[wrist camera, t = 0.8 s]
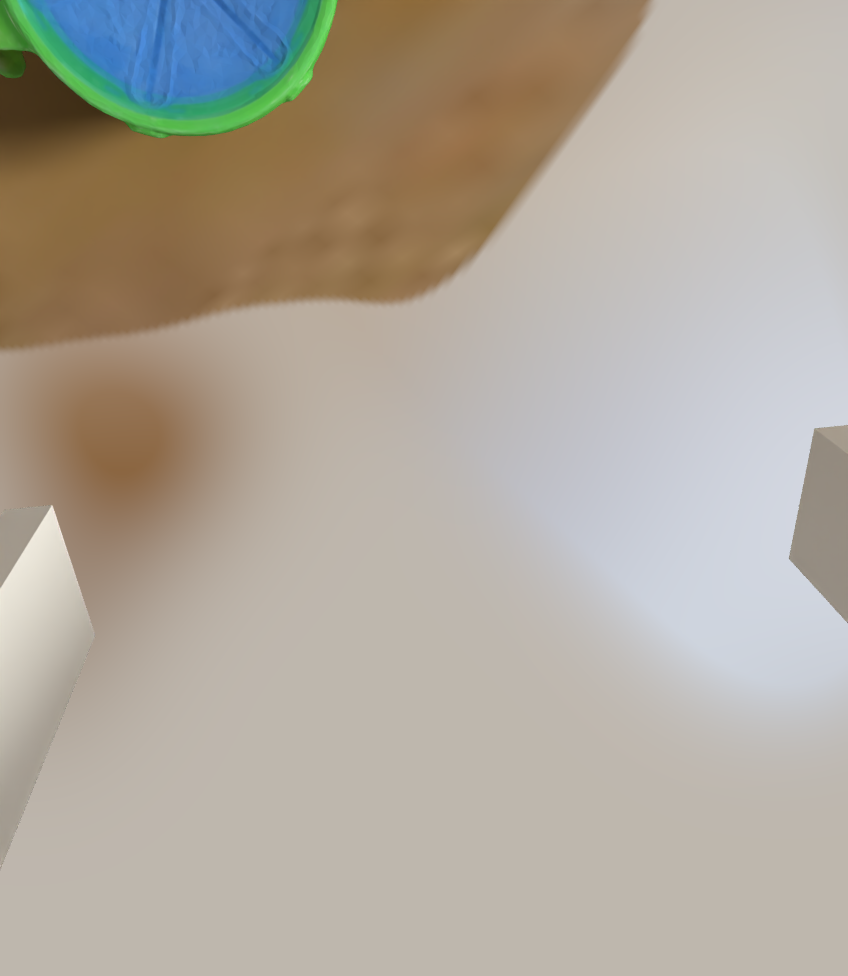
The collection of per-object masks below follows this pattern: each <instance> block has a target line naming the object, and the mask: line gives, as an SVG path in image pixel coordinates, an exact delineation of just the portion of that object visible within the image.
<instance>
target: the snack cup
mask: <svg viewBox="0 0 848 976" xmlns="http://www.w3.org/2000/svg"><path fill="white" fill-rule="evenodd" d="M336 5H337V0H0V74H1V75H3V76H5V77H6V78H18V77H21V76H22V75H23V73H24V70H25V68H26V64H25V60H24V57H23V54H22V51H29V52H32V53H35V54H37V55H38V56H39V57H40V58H41V60H42V61H43V62H44V63H45V64H46V65H47V66H48V68H49V69H50V70H51V71H52V72H53V73H54V74H55V75H56V76H57V77H58V78H59V79H60V80H61V81H62V82H63V83H65V84H66V85H67V86H68V87H69V88H70V89H71V90H73V91H74V92H75V93H76V94H77V95H79V96H80V97H81V98H82V99H84V100H85V101H86V102H88V103H89V104H90V105H92V106H93V107H95V108H97V109H99V110H101V111H102V112H104V113H106V114H108V115H110V116H112V117H115V118H117V119H119V120H121V121H124V122H125V123H126V124H127V125H128V126H129V128H130V129H131V130H132V131H135V132H138V133H141V134H145V135H148V136H152V137H156V138H165V137H168V136H171V135H178V136H207V135H215V134H220V133H226V132H230V131H233V130H236V129H239V128H241V127H244V126H247V125H249V124H251V123H253V122H255V121H257V120H259V119H261V118H262V117H264V116H265V115H267V114H268V113H270V112H271V111H273V110H274V109H275V108H277V107H278V106H279V105H281V104H282V103H284V102H288V101H292V100H294V99H295V98H296V97H297V96H298V95H299V93H300V92H301V91H302V90H303V89H304V88H305V86H306V85H307V84H308V83H309V82H310V81H311V79H312V76H313V67H314V64H315V63H316V61H317V59H318V57H319V55H320V53H321V52H322V49H323V47H324V44H325V42H326V39H327V36H328V34H329V31H330V28H331V25H332V21H333V17H334V14H335V10H336Z"/></svg>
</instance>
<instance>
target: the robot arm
mask: <svg viewBox="0 0 848 976" xmlns="http://www.w3.org/2000/svg"><path fill="white" fill-rule="evenodd" d="M789 559H790V560H791V561H792V562H793V564H794V565H795V566H796V567H797V568H798V569H799V570H800V571H801V572H802V574H803V575H804V576H805V577H806V578H807V579H808V580H809V581H810V582H811V583H812V584H813V586H814V587H815V588H816V589H817V590H818V591H819V592H820V593H821V594H822V595H823V596H824V598H826V600H827V601H828V602H829V603H830V604H831V605H832V606H833V607H834V608H835V610H836V611H837V612H838V613H839V614H840V615H841V616H842V617H843V618H844V620H845V621H846V622H847V623H848V425H844V426H835V427H826V428H825V427H824V428H815V429H814V434H813V439H812V444H811V449H810V454H809V459H808V465H807V469H806V474H805V479H804V484H803V489H802V495H801V500H800V505H799V510H798V515H797V520H796V525H795V530H794V535H793V540H792V545H791V551H790V556H789ZM94 637H95V633H94V630H93V627H92V624H91V621H90V618H89V615H88V612H87V609H86V606H85V603H84V600H83V597H82V594H81V591H80V588H79V585H78V582H77V579H76V576H75V573H74V570H73V567H72V564H71V560H70V557H69V554H68V551H67V548H66V545H65V543H64V540H63V536H62V533H61V530H60V527H59V524H58V521H57V518H56V515H55V512H54V509H53V506H52V505H48V506H38V507H28V508H19V509H9V510H4V511H3V513H2V514H1V516H0V869H1V867H2V864H3V862H4V859H5V857H6V854H7V851H8V849H9V847H10V844H11V842H12V839H13V837H14V834H15V832H16V830H17V827H18V825H19V822H20V820H21V817H22V815H23V812H24V810H25V807H26V805H27V803H28V800H29V798H30V795H31V793H32V790H33V788H34V785H35V783H36V780H37V778H38V775H39V773H40V771H41V768H42V766H43V763H44V760H45V758H46V756H47V753H48V751H49V748H50V746H51V743H52V741H53V738H54V736H55V733H56V731H57V729H58V726H59V724H60V721H61V719H62V716H63V714H64V711H65V709H66V706H67V704H68V702H69V699H70V697H71V694H72V692H73V689H74V687H75V684H76V682H77V679H78V677H79V674H80V672H81V670H82V667H83V665H84V662H85V660H86V657H87V655H88V652H89V650H90V647H91V645H92V642H93V640H94Z"/></svg>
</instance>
